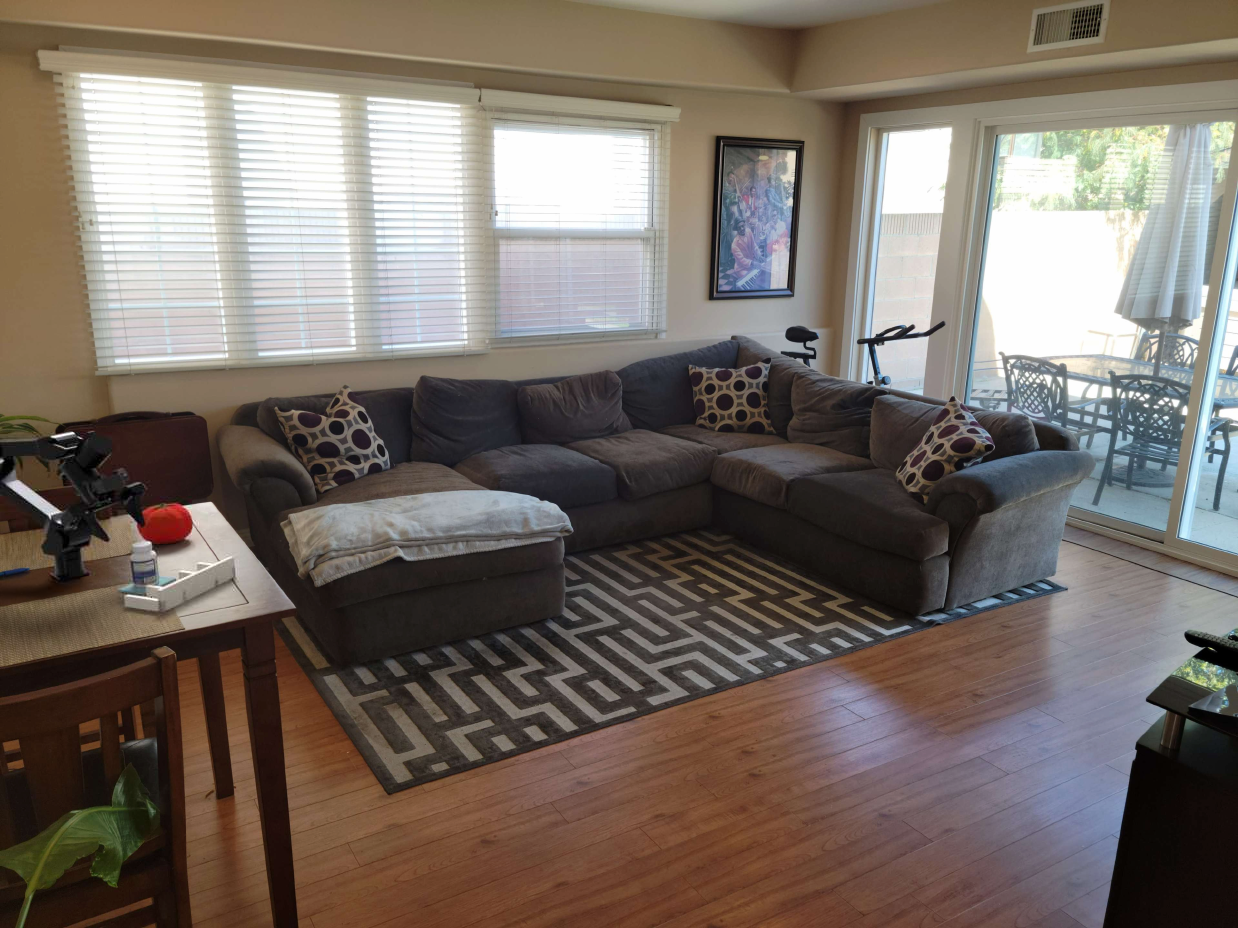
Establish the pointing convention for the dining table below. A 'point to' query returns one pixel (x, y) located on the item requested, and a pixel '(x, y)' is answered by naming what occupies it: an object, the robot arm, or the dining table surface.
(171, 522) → the tomato
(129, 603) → the lane rack
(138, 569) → the pill bottle
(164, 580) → the teal mat
